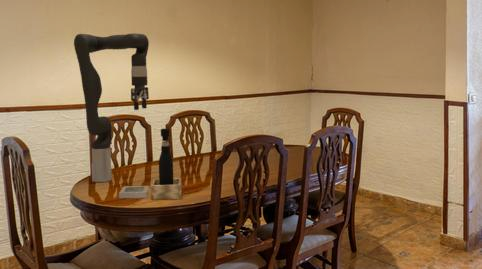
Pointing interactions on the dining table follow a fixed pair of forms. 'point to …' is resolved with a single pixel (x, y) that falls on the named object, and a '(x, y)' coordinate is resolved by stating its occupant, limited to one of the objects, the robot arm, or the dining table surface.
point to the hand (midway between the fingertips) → (140, 109)
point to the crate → (166, 190)
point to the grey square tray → (134, 192)
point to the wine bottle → (165, 161)
